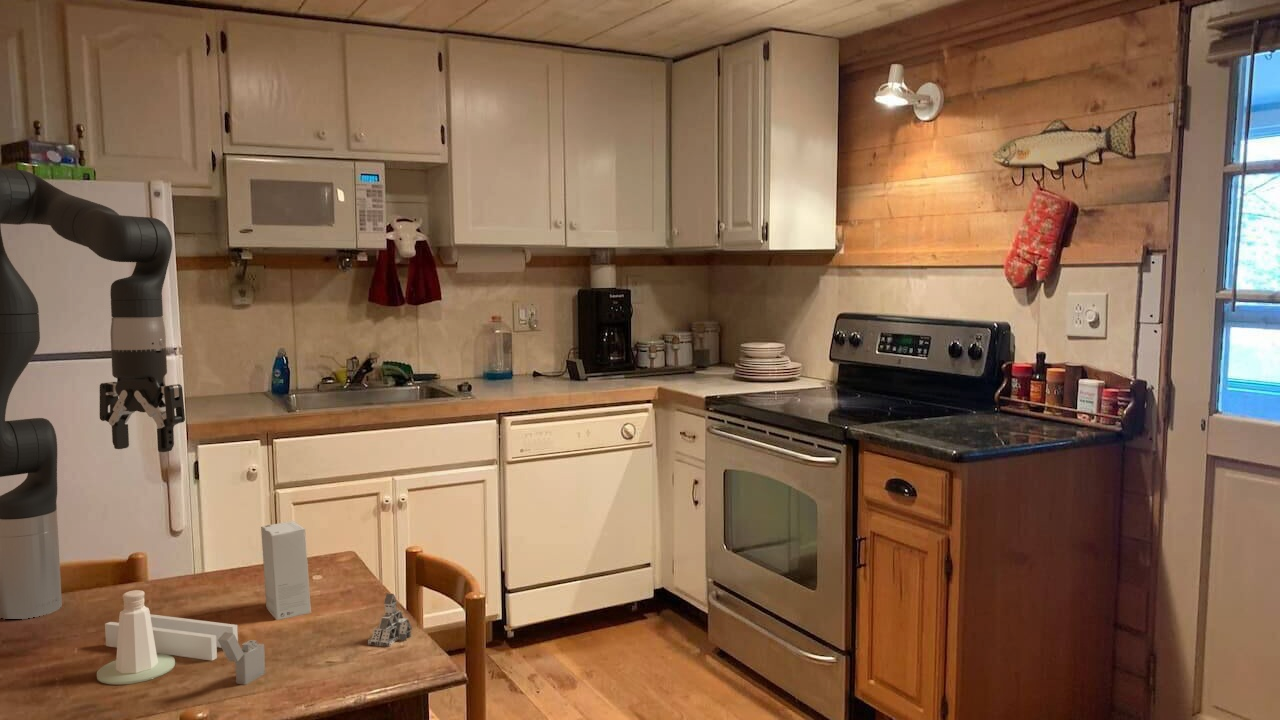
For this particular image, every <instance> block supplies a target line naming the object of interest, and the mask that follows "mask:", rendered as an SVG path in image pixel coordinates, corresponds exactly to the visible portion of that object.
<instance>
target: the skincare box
mask: <svg viewBox="0 0 1280 720" xmlns="http://www.w3.org/2000/svg"><path fill="white" fill-rule="evenodd" d="M260 533H261V544H262V546H261V547H262V549H261V550H262V560H263V561H262V563H263V576H264V577H263V578H264V591H265V604H266V607H265V608H266V609H267V610H268V612H269V613H270V614H271V615H272V617H273V618H274V619H275V620H276V621H280V620H285V619H289V618H290V619H291V618H294V617H298V616H303V615H308V614H312V610H311V609H312V608H311V597H310V581H309V579H310V577H309V566H308V554H307V539H306V528H304V527H303V526H302V525H300V524H298V523H297V522H296V521H294V520H293V521H286V522H279V523H275V524H273V523H272V524H268V525H263V526H260Z"/></svg>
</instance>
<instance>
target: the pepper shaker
mask: <svg viewBox="0 0 1280 720" xmlns="http://www.w3.org/2000/svg"><path fill="white" fill-rule="evenodd" d="M145 595H146V593H145V591H143V590H140V589H134V590H130V591H127V592H124V593H123V594H122V599H123V600H122V601H123V610H121V611H120V612H119V617H118V623H119V628H118V643H117V647H116V659H115V660H116V670H117V671H119V672H120V673H121V674H134V673H139V672H143V671H146V670H150V669H152V668H153V667H154V666H155V665H156V664H157V663H158V659H157V653H156V647H155V641H154V635H153V629H152V623H151V617H150V614H151V611H150V609H149V607H148V606H145Z"/></svg>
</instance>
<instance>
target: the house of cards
mask: <svg viewBox="0 0 1280 720" xmlns="http://www.w3.org/2000/svg"><path fill="white" fill-rule="evenodd" d="M397 603H398V600H397V597H396V596H395V594H394V593H390V592H389V593H385V597H384V601H383V605H384V613H385V614H384V615H381V618H380V623H379V625H378V626H376V627H374V628H373V633H372V637H371V638H369V639H368V640H367V645H368V646H377V647H391V646H392V645H393V644H394V643H395V642H397V641H398V640H399V641H405V642H406V641H408V640H407V637H408V638H411V637H412V629H413V628H412V625H411V623H410V621H409V618H407V617H406V618H405V617H404V615H403V613H402V610H400V609H399V610H398V609H397Z"/></svg>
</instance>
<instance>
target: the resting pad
mask: <svg viewBox="0 0 1280 720" xmlns="http://www.w3.org/2000/svg"><path fill="white" fill-rule="evenodd" d="M157 659H158V663H157V664H156V665H155V666H154V667H153V668H152V669H150V670H146V671H143V672H139V673H134V674H121V673H120V672H119V671H117V670H116V659H115V660H113V661H110V662H108V663H106V664H104V665H103V666H101V667H100V668H99V669H98V670H97V672H96V679H97V681H98V682H100V683H102V684H107V685H113V686H115V685H117V686H119V685H121V686H122V685H131V684H132V685H133V684H138V683H143V682H146V681H151V680H153V679H157V678H160V677H162V676H164V675H165V674H167V673H169V672H170V671H172V670H173V669H174V667H175V665H176V660H175V658H174V656H173V655H168V654H160V653H157Z"/></svg>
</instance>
